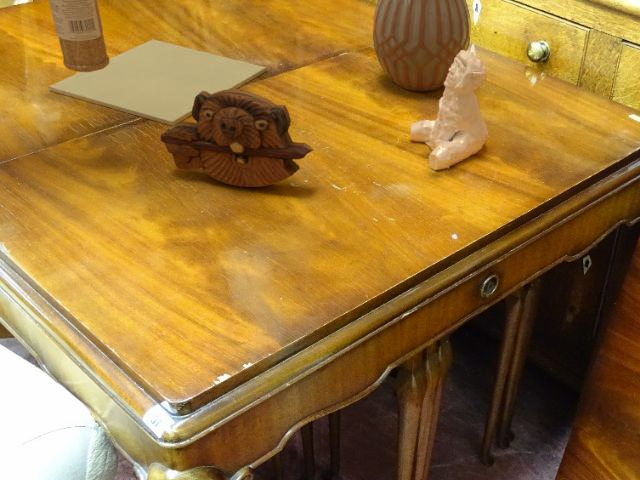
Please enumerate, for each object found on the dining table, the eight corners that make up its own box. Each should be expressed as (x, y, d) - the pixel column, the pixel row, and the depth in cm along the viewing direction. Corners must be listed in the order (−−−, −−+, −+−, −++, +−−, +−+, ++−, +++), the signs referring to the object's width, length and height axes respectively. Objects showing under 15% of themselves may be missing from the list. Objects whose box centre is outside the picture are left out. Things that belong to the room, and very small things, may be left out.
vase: (408, 110, 101) (413, -32, 90) (354, 75, 109) (353, -59, 98) (485, 89, 107) (498, -46, 96) (429, 57, 115) (435, -70, 104)
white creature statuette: (404, 136, 95) (407, 38, 87) (468, 127, 98) (477, 32, 90) (432, 172, 88) (439, 70, 81) (500, 162, 91) (512, 63, 83)
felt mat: (49, 90, 100) (48, 86, 100) (153, 43, 114) (152, 39, 114) (173, 126, 94) (172, 121, 94) (266, 71, 108) (266, 67, 108)
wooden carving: (160, 184, 84) (143, 96, 77) (176, 164, 87) (161, 78, 81) (308, 201, 82) (304, 113, 76) (319, 180, 86) (315, 95, 79)
